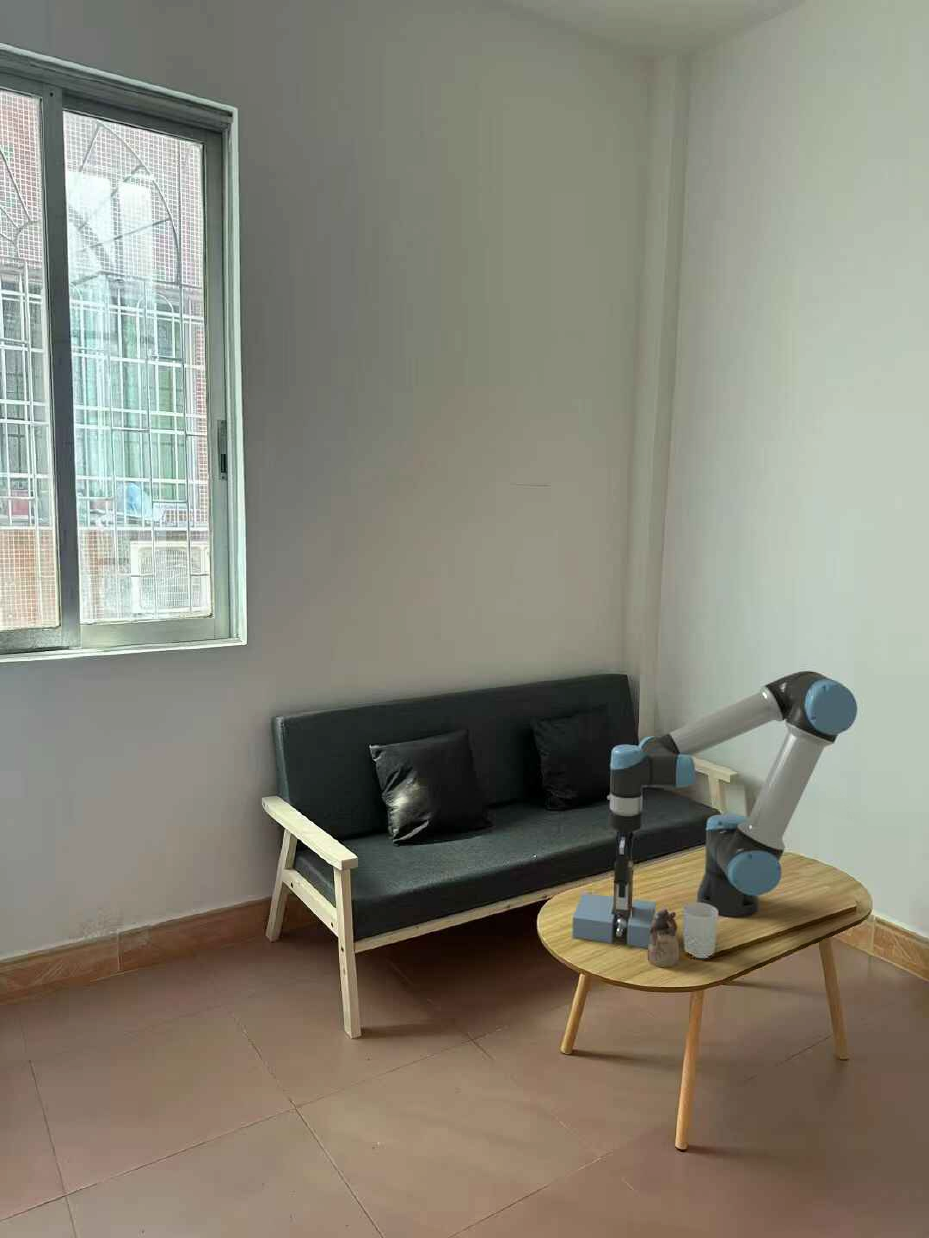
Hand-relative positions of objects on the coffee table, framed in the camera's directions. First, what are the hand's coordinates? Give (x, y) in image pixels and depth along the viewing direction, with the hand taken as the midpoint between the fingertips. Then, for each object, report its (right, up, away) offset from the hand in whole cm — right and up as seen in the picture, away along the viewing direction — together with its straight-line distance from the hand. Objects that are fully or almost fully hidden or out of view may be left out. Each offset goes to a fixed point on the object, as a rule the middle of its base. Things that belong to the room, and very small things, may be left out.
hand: (623, 904), depth 214 cm
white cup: (+16, -8, -9) cm, 20 cm away
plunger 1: (+2, -4, +5) cm, 7 cm away
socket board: (-2, -6, +1) cm, 7 cm away
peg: (0, -2, 0) cm, 2 cm away
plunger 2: (-1, -6, -4) cm, 7 cm away
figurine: (+7, -9, -13) cm, 17 cm away
